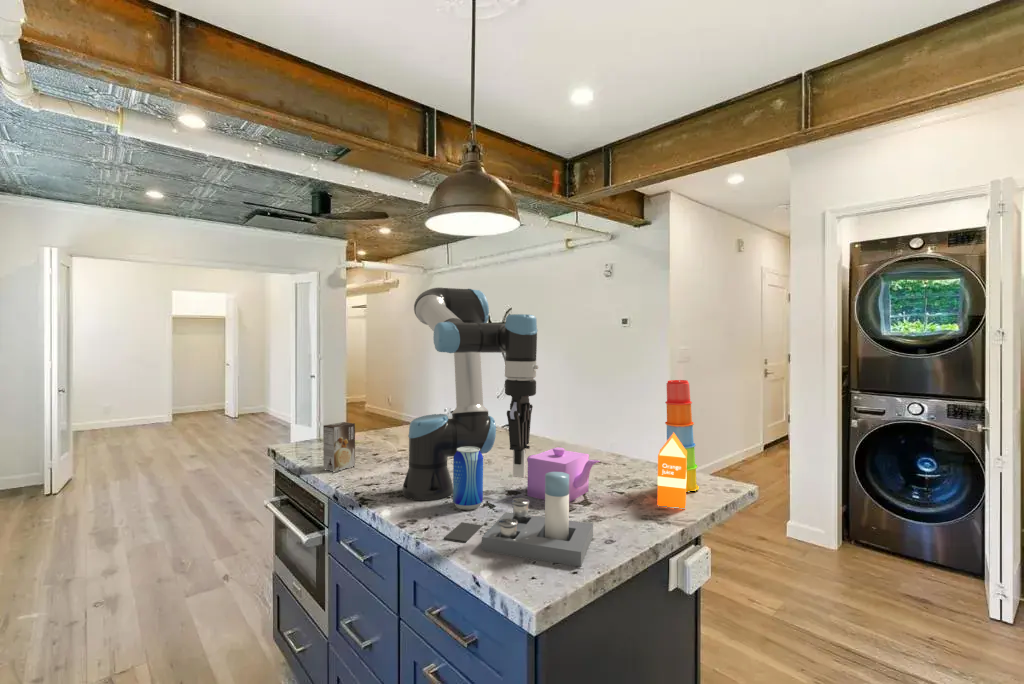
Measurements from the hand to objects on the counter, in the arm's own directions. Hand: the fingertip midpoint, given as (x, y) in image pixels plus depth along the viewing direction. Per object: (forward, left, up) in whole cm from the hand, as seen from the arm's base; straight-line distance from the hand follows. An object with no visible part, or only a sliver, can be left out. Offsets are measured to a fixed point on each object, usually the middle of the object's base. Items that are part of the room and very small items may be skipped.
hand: (519, 476), depth 114 cm
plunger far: (0, +1, -11) cm, 11 cm away
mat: (-11, -3, -14) cm, 18 cm away
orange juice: (+35, +37, -14) cm, 53 cm away
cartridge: (+10, -4, -14) cm, 17 cm away
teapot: (+3, +33, -15) cm, 36 cm away
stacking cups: (+38, +53, -14) cm, 67 cm away
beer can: (-20, +15, -14) cm, 28 cm away
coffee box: (-79, +34, -14) cm, 87 cm away
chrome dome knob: (0, -8, -12) cm, 15 cm away
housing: (+6, -4, -14) cm, 16 cm away
